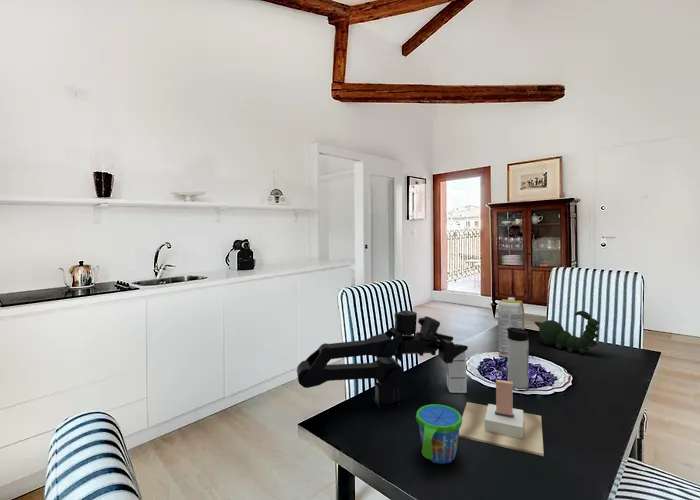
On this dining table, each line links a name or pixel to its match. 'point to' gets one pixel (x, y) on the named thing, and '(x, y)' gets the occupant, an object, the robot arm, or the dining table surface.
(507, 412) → the salmon pink flat block
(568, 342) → the toy figurine
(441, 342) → the robot arm
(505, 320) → the juice carton
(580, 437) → the dining table surface
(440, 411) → the snack cup
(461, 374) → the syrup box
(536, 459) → the dining table surface
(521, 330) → the travel mug
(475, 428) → the base board
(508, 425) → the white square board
